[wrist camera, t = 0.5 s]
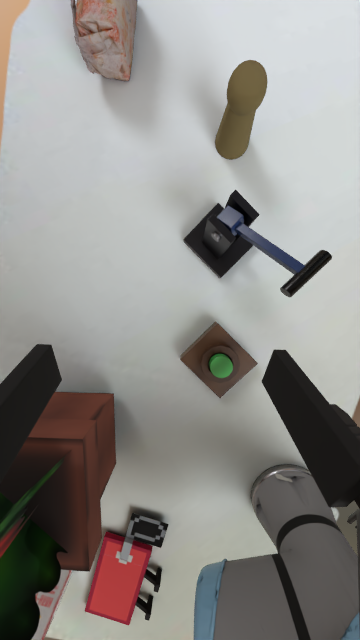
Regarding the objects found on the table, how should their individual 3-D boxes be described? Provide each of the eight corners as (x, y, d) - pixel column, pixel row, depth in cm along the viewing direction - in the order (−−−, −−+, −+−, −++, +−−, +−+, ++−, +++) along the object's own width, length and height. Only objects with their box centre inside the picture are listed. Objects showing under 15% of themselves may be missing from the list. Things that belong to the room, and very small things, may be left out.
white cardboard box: (70, 578, 49) (40, 649, 39) (43, 570, 49) (7, 639, 39) (73, 566, 49) (44, 634, 39) (46, 557, 49) (10, 624, 39)
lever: (327, 263, 24) (335, 253, 22) (289, 299, 25) (292, 293, 22) (239, 206, 29) (238, 193, 27) (209, 237, 30) (206, 227, 28)
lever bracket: (253, 244, 38) (286, 218, 26) (219, 278, 40) (234, 269, 27) (217, 205, 38) (231, 160, 25) (183, 241, 39) (181, 215, 26)
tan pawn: (249, 122, 36) (275, 46, 25) (248, 159, 37) (273, 101, 26) (215, 123, 36) (227, 49, 25) (214, 159, 37) (225, 102, 26)
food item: (134, 90, 36) (115, 14, 26) (91, 85, 36) (55, 8, 27) (142, 0, 35) (125, -116, 25) (97, -4, 35) (61, -121, 25)
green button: (235, 364, 37) (237, 367, 35) (219, 378, 38) (221, 382, 36) (220, 349, 37) (221, 351, 35) (204, 363, 37) (205, 367, 36)
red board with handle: (176, 521, 46) (113, 502, 46) (175, 536, 43) (108, 516, 43) (145, 620, 50) (87, 602, 50) (142, 640, 47) (81, 620, 48)
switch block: (253, 359, 41) (261, 366, 37) (218, 391, 42) (221, 403, 38) (215, 321, 41) (218, 324, 36) (180, 355, 42) (179, 362, 37)
